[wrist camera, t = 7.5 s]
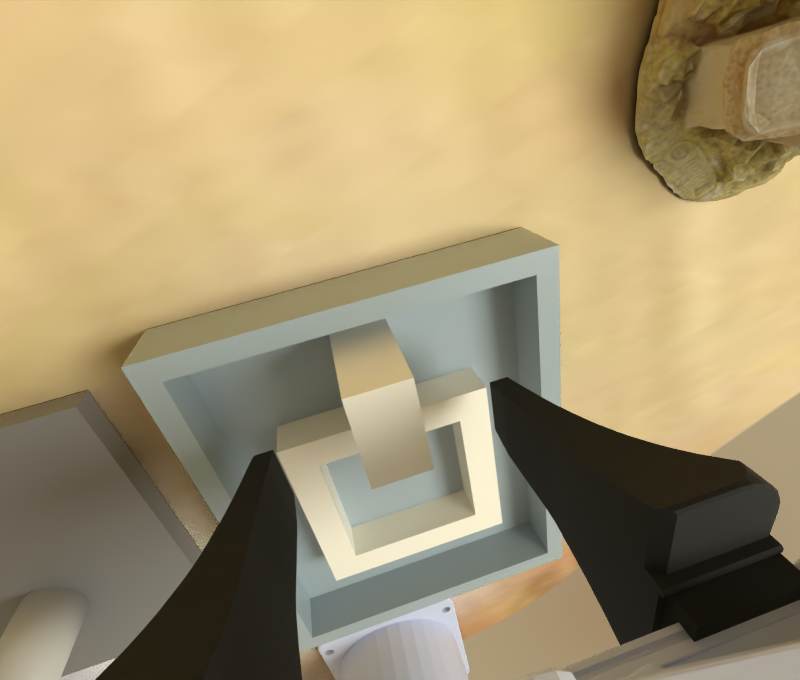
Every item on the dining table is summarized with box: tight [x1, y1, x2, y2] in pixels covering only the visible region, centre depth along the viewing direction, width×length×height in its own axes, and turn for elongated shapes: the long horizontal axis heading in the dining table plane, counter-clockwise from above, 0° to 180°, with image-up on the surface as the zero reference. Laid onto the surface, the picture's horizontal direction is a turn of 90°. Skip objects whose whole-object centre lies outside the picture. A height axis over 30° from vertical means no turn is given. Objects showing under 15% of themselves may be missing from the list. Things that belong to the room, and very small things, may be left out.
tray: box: [121, 227, 563, 652], centre depth 18 cm, size 17×14×2 cm
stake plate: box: [0, 390, 202, 680], centre depth 15 cm, size 13×11×5 cm
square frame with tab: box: [276, 318, 502, 581], centre depth 16 cm, size 12×8×4 cm
